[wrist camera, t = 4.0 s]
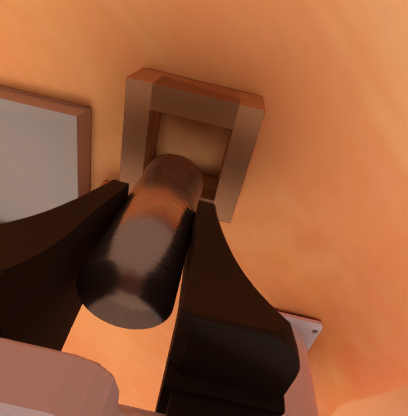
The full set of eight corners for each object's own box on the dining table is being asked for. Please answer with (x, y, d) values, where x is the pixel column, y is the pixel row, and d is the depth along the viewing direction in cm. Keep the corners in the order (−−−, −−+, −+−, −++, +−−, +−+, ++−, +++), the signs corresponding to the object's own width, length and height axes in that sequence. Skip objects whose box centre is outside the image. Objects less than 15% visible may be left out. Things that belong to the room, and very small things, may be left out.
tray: (89, 242, 26) (78, 259, 24) (-45, 211, 25) (-66, 225, 24) (91, 107, 20) (76, 116, 18) (-84, 65, 19) (-116, 70, 18)
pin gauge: (197, 213, 16) (166, 337, 10) (141, 200, 16) (77, 317, 10) (208, 162, 14) (181, 271, 8) (146, 148, 14) (74, 248, 8)
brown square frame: (232, 198, 22) (230, 223, 19) (133, 175, 22) (118, 196, 19) (262, 96, 18) (265, 110, 16) (143, 67, 18) (126, 77, 16)
